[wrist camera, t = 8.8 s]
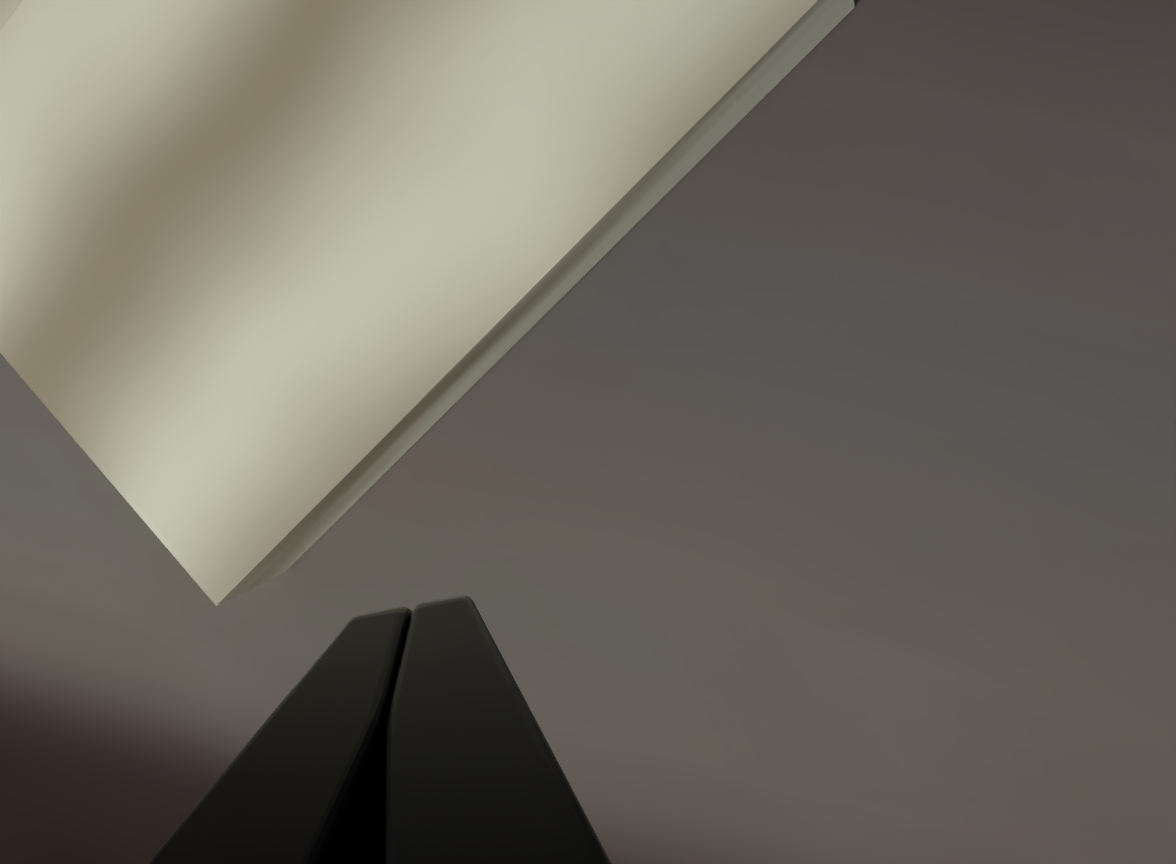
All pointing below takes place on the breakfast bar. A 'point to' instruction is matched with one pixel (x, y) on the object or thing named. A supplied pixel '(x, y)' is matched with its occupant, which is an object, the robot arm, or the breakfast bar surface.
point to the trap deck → (327, 222)
